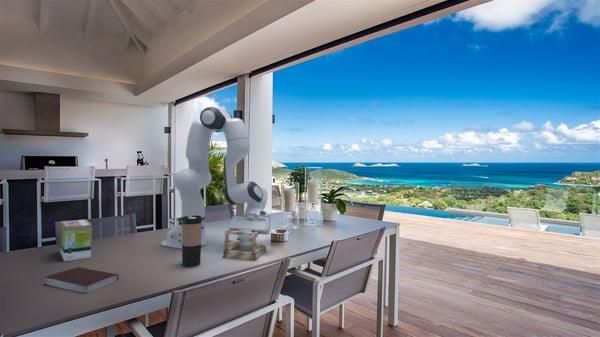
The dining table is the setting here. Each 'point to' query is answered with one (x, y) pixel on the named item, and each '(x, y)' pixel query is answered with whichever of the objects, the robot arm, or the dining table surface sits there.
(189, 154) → the robot arm
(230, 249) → the rack
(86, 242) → the tea box
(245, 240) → the grey upright block
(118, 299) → the dining table surface
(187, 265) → the travel mug
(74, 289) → the book
